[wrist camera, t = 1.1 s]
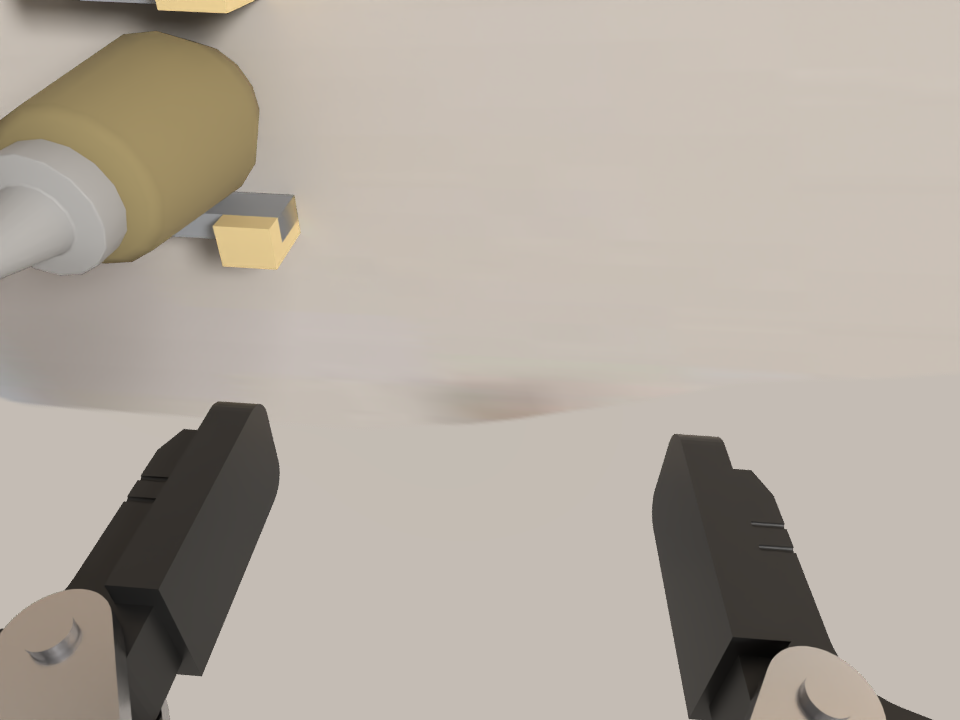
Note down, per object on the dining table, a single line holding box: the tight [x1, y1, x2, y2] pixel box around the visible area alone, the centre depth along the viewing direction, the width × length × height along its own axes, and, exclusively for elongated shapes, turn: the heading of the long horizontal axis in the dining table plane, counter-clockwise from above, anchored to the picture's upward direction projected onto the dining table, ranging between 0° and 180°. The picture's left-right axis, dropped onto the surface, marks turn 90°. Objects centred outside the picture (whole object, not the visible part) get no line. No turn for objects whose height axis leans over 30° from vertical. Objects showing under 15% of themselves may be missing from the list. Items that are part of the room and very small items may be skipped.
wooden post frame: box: [82, 0, 300, 270], centre depth 31 cm, size 18×18×6 cm
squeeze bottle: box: [0, 31, 259, 279], centre depth 26 cm, size 8×8×18 cm
